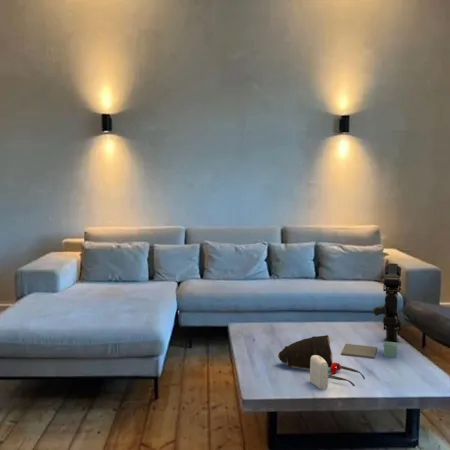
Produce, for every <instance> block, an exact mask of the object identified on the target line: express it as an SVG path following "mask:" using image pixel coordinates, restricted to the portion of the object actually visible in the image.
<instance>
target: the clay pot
mask: <svg viewBox="0 0 450 450" xmlns="http://www.w3.org/2000/svg"><path fill="white" fill-rule="evenodd" d="M331 348H332V347H331V340H330V336H329V334H328V335H327V334H325V335H319V336H318V335H317V336H316V335H314V336H312V337H307V338H302V339H300V340H297V341H295V342H292V343H291V344H289V345H287V346H286V345H285V346H284V348H283V349H282V350H281V351H279V352H278V354H277V358H278V359H279V360H280V361H281V363H284V364H286V366H288V367H290V368H292V369H301V370H307V371H310V359H311V357H312V356H313V355H318V356H320V357H322V358H323V359H324V360H325V361H326V362H327V364H328V367H329V368H330V367H331V365H332V364H333V363H334V361H333V353H332V352H333V351H332V349H331Z"/></svg>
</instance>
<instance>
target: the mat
mask: <svg viewBox="0 0 450 450" xmlns="http://www.w3.org/2000/svg"><path fill="white" fill-rule="evenodd" d="M377 351H378V346H370V345H363V344H362V345H361V344H354V343H353V344H352V343H344V346H343V348H342V350H341V353H340V355H341V356H345V357H346V356H347V357H354V358H355V357H356V358H365V359H374V360H375V358H376V355H377Z"/></svg>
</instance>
